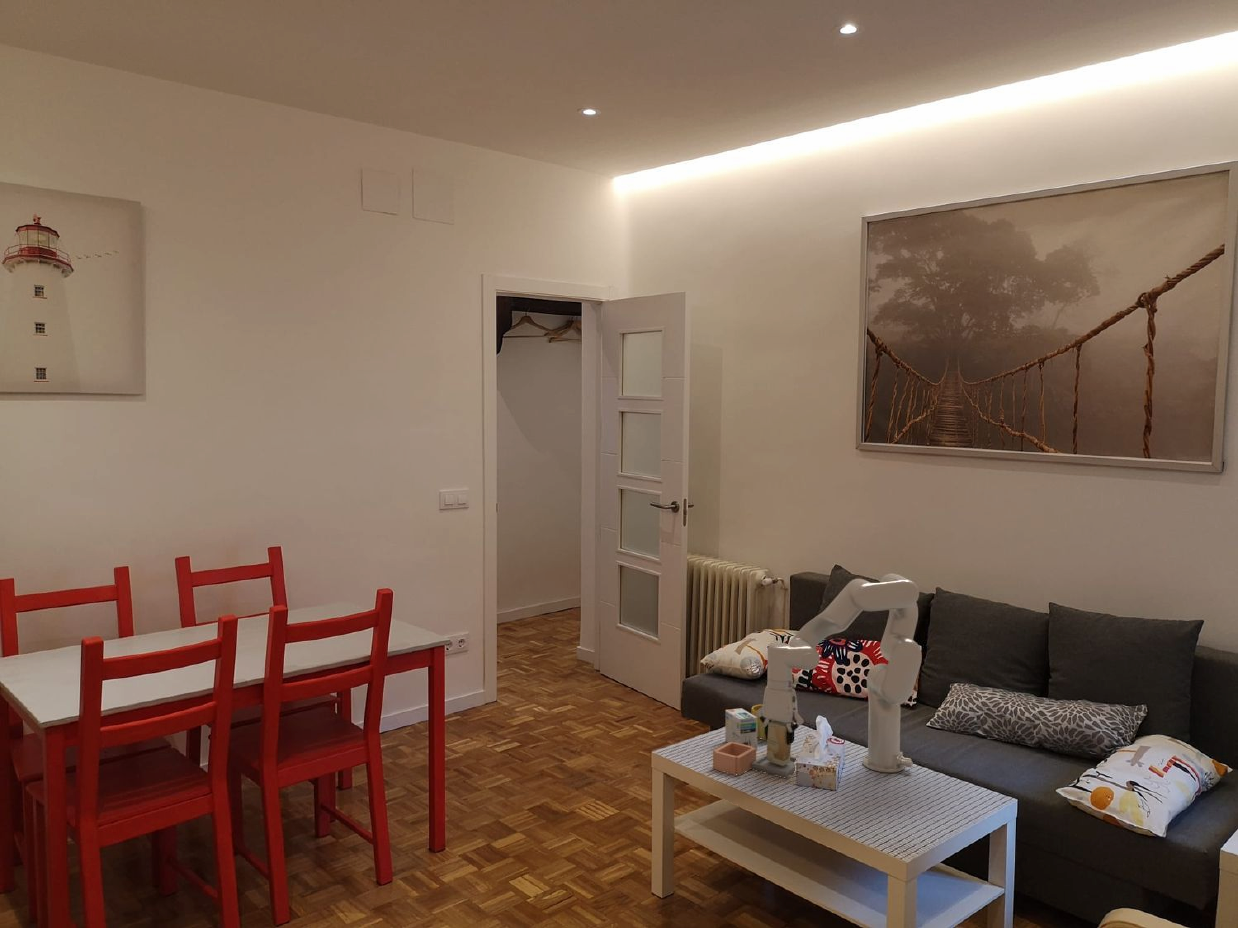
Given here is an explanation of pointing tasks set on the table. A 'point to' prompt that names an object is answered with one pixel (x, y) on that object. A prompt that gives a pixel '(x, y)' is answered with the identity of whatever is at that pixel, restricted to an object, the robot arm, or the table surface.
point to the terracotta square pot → (734, 758)
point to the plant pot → (759, 722)
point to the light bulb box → (741, 727)
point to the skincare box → (778, 743)
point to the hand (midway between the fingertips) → (779, 740)
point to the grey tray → (774, 767)
